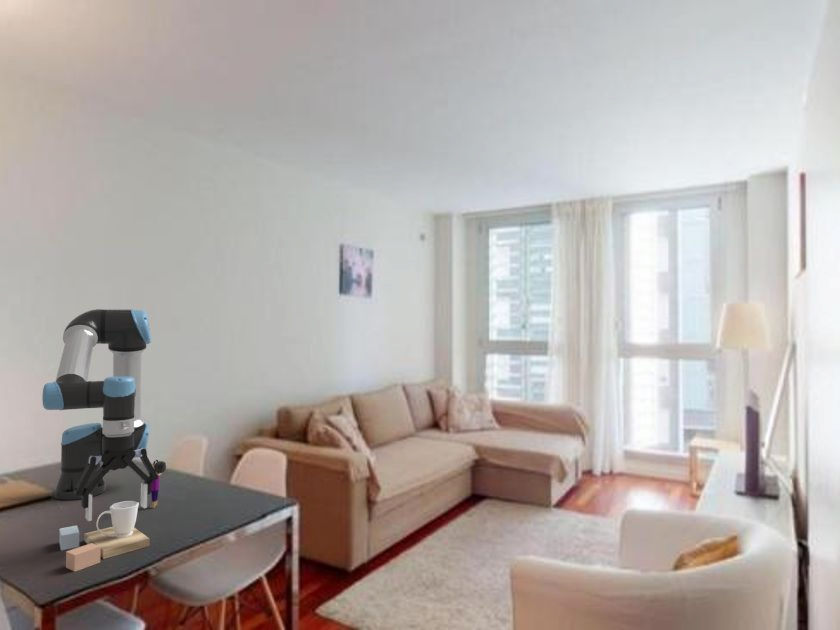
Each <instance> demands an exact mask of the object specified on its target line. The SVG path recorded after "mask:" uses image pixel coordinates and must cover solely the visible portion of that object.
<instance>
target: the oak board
mask: <svg viewBox="0 0 840 630" xmlns="http://www.w3.org/2000/svg"><path fill="white" fill-rule="evenodd" d="M100 530H101V531H103V532H105V533H107V534H111V535H115V534H116V533H115V532H114V529H113V526H110V527H106V528H101V529H100ZM132 531H133V534H132V535H130V536H127V537H122V538H117V537H110V536H107V535H104V534H102V533H101V532H99V531H98V529H97V530H94V531H93V530H92V531H90V532H86V533H84V534H83V536H84V537H83V541H84V542H85V543H86V545H87V544H90V543H93V544H95V545H98V546H100V547H101V551H100V558H102V559H103V560H105V559H108V558H109V559H110V558H112V557H115V556H120V555H123V554H126V553H130V552H133V551H137V550H140V549H144V548H148V547H150V543H151V541H150V540H151V539H150V537H148V535H146V534H144V533H143V532H141V531H140V530H138V529H137V528H136V527H134V529H133V530H132Z"/></svg>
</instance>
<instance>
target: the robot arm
mask: <svg viewBox="0 0 840 630" xmlns="http://www.w3.org/2000/svg"><path fill="white" fill-rule="evenodd" d="M149 321H150V320H149V315H148V313H147V312H146V311H145V310H141V309H140V310H138V309H132V308H131V309H103V308H102V309H100V308H98V309H91V310H88V311H85V312H83V313H81V314H79V315H78V316H76V317H75V318H73V319H72V320H71V321H70V322H69V323H68V324H67V326H66V327H65V329H64V332H63V336H62V341H63V343H64V347H63V349H62V353H61V357H60V361H59V366H58V371H57V373H56V376H55V377H56V378H55V381H53V382H47V383H45V384H44V385H43V387H42V388H43V389H42V399H41V400H42V406H43V409H45V410H48V411H66V410H79V409H80V410H81V409H102V411H103V413H102V415H103V416H102V424H101V423H100V422H92V423H84V424H81V425H75V426H72V427H69V428H67V429H65V430H64V431H63V432H62V434H61V443H60V446H61V449H60V451H61V452H60V453H61V456H60V457H61V458H60V474H59V478H58V480H57V483H56V484H55V488H54V489H53V490H54V493H53V495H54V496H53V497H54V498H55V499H56V500H64V501H65V500H66V501H67V500H68V501H70V500H81V504H80V505H81V507H82V508H83V509H85V516H84V517H85V520H86V521H88V522H90V521H93V497H95V496H99V495H101V494H102V493H104V492H106V490H107V487H106V486H107V485H106V480H105V477H104V476H106V475H107V473H109V472H110V471H117V470H119V469H121V470H122V469H123V470H125V469H126V468H127V467H129V468H130V469H131V470H132V471H133V472H134V473H135V474H136V475H137V476H138V477H139V478H141V480H143V481H144V482H140V507H141V508H143V509H147V508H148V495H151V483H152V482H153V480H157V479H158V474H157V473H156V472H155V470H154V468H153V466H152V465H153V464H152V462H151V461H150V459H149V457H148V451H147V446H148V443H149V442H148V440H149V433H150V425H149V424H148V423H146V419H144V417H142V416H141V405H142V404H141V403H142V402H141V401H142V400H141V398H142V397H141V394H142V392H141V391H142V389H141V388H142V353H143V352H144V351H145V350H147V345H149V344H151V342H152V340H151V339H152V337H151V329H150V322H149ZM98 344H100V345H104V344H105V345H108V351H110V352H111V353H112V354H113V355H112V356H113V357H112V361H113V363H112V364H113V365H112V373H113V374H112V376H108V377H106V378H104V379H103V380H96V381H94V380H89V381H88V376H89V372H90V365H91V359H92V355H93V348H94V347H95V346H96V345H98ZM136 458H140V461H141V463H142V464H143V466H144V468H145V469H146V472H147V473H148V475H147V474H146V473H145V472H144V471H143V470H142V469H141V468H139V466H138V465H137V464H136V463H135V462H134V461H133V459H136ZM101 462H102V464H101Z"/></svg>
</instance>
